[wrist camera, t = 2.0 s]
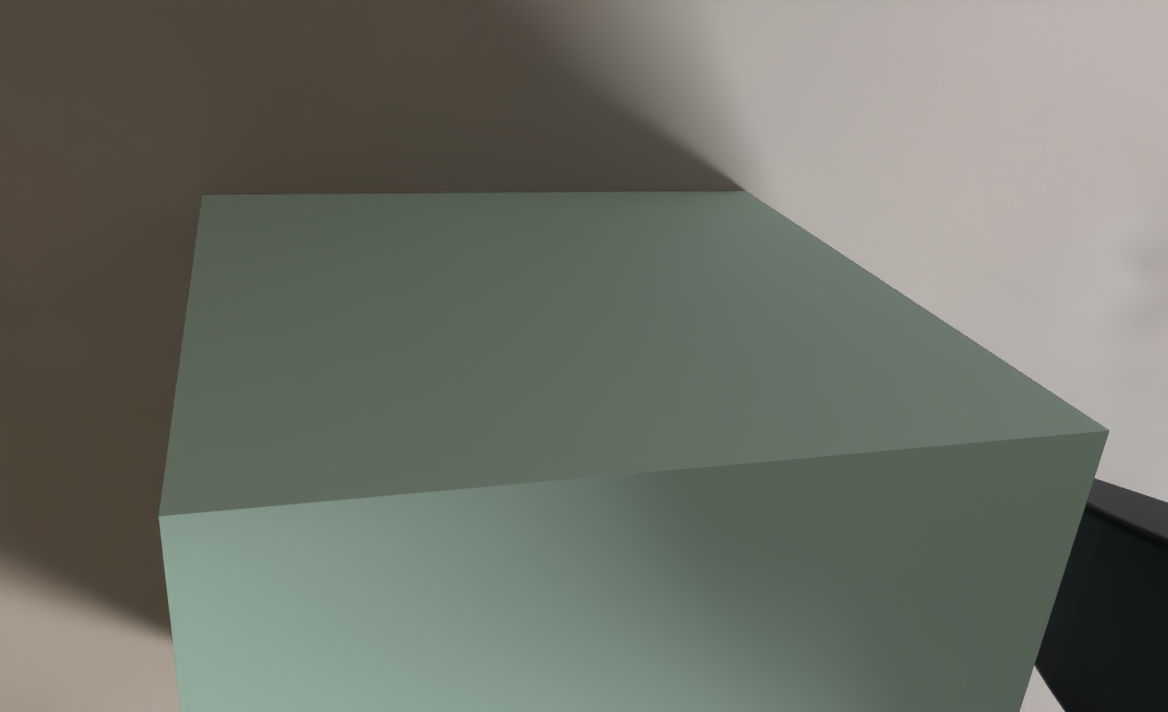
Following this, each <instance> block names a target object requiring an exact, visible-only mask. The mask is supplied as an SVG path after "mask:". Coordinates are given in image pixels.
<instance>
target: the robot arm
mask: <svg viewBox="0 0 1168 712" xmlns="http://www.w3.org/2000/svg"><path fill="white" fill-rule="evenodd" d="M1034 665H1035V667H1036V669H1037V670H1038V672H1039V673H1040V675H1041V677H1042V678H1043V680H1044V681H1045V683H1046V685H1047V686H1048V688H1049V689H1050V691H1051V692H1052V694H1053V695H1054V697H1055V698H1056V700H1057V701H1058V702H1059V704H1060V705H1061V707H1062V708H1063V710H1064V711H1065V712H1168V502H1165V501H1162V500H1158V499H1155V498H1152V497H1149V496H1146V495H1143V494H1140V493H1137V492H1134V491H1131V490H1128V489H1125V488H1122V487H1119V486H1116V485H1113V484H1110V483H1107V482H1104V481H1101V480H1098V479H1095V478H1094V480H1093V483H1092V486H1091V490H1090V493H1089V496H1088V499H1087V502H1086V505H1085V508H1084V511H1083V515H1082V518H1081V521H1080V524H1079V527H1078V530H1077V533H1076V536H1075V539H1074V543H1073V546H1072V549H1071V552H1070V555H1069V558H1068V561H1067V564H1066V568H1065V571H1064V574H1063V577H1062V580H1061V583H1060V586H1059V589H1058V592H1057V596H1056V599H1055V602H1054V605H1053V608H1052V611H1051V614H1050V617H1049V621H1048V624H1047V627H1046V630H1045V633H1044V636H1043V639H1042V642H1041V646H1040V649H1039V652H1038V655H1037V658H1036V661H1035V664H1034Z"/></svg>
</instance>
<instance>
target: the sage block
mask: <svg viewBox="0 0 1168 712" xmlns="http://www.w3.org/2000/svg"><path fill="white" fill-rule="evenodd" d="M1108 433H1109V430H1108V429H1106V428H1105V427H1103V426H1102V425H1100V424H1099V423H1097V422H1096V421H1094V420H1093V419H1091V418H1090V417H1088V416H1087V415H1085V414H1084V413H1082V412H1081V411H1079V410H1078V409H1076V408H1075V407H1073V406H1071V405H1070V404H1068V403H1067V402H1065V401H1064V400H1062V399H1061V398H1059V397H1058V396H1056V395H1055V394H1053V393H1052V392H1050V391H1049V390H1047V389H1046V388H1044V387H1043V386H1041V385H1040V384H1038V383H1037V382H1035V381H1034V380H1032V379H1031V378H1029V377H1027V376H1026V375H1024V374H1023V373H1021V372H1020V371H1018V370H1017V369H1015V368H1014V367H1012V366H1011V365H1009V364H1008V363H1006V362H1005V361H1003V360H1002V359H1000V358H999V357H997V356H996V355H994V354H993V353H991V352H990V351H988V350H987V349H985V348H983V347H982V346H980V345H979V344H977V343H976V342H974V341H973V340H971V339H970V338H968V337H967V336H965V335H964V334H962V333H961V332H959V331H958V330H956V329H955V328H953V327H952V326H950V325H949V324H947V323H946V322H944V321H943V320H941V319H939V318H938V317H936V316H935V315H933V314H932V313H930V312H929V311H927V310H926V309H924V308H923V307H921V306H920V305H918V304H917V303H915V302H914V301H912V300H911V299H909V298H908V297H906V296H905V295H903V294H902V293H900V292H899V291H897V290H895V289H894V288H892V287H891V286H889V285H888V284H886V283H885V282H883V281H882V280H880V279H879V278H877V277H876V276H874V275H873V274H871V273H870V272H868V271H867V270H865V269H864V268H862V267H861V266H859V265H858V264H856V263H855V262H853V261H851V260H850V259H848V258H847V257H845V256H844V255H842V254H841V253H839V252H838V251H836V250H835V249H833V248H832V247H830V246H829V245H827V244H826V243H824V242H823V241H821V240H820V239H818V238H817V237H815V236H814V235H812V234H811V233H809V232H807V231H806V230H804V229H803V228H801V227H800V226H798V225H797V224H795V223H794V222H792V221H791V220H789V219H788V218H786V217H785V216H783V215H782V214H780V213H779V212H777V211H776V210H774V209H773V208H771V207H770V206H768V205H767V204H765V203H763V202H762V201H760V200H759V199H757V198H756V197H754V196H753V195H751V194H750V193H748V192H747V191H667V192H525V193H382V194H240V195H202V199H201V207H200V214H199V221H198V229H197V236H196V243H195V251H194V258H193V266H192V273H191V280H190V288H189V295H188V302H187V310H186V317H185V325H184V332H183V339H182V347H181V354H180V362H179V369H178V376H177V384H176V391H175V398H174V406H173V413H172V421H171V428H170V435H169V443H168V450H167V458H166V465H165V472H164V480H163V487H162V494H161V502H160V509H159V525H160V534H161V543H162V551H163V560H164V569H165V578H166V587H167V596H168V604H169V613H170V622H171V631H172V640H173V648H174V657H175V666H176V675H177V684H178V692H179V701H180V710H181V712H1019V711H1020V708H1021V705H1022V702H1023V699H1024V695H1025V692H1026V689H1027V686H1028V683H1029V680H1030V677H1031V674H1032V670H1033V667H1034V664H1035V661H1036V658H1037V655H1038V652H1039V649H1040V646H1041V642H1042V639H1043V636H1044V633H1045V630H1046V627H1047V624H1048V621H1049V617H1050V614H1051V611H1052V608H1053V605H1054V602H1055V599H1056V596H1057V592H1058V589H1059V586H1060V583H1061V580H1062V577H1063V574H1064V571H1065V568H1066V564H1067V561H1068V558H1069V555H1070V552H1071V549H1072V546H1073V543H1074V539H1075V536H1076V533H1077V530H1078V527H1079V524H1080V521H1081V518H1082V515H1083V511H1084V508H1085V505H1086V502H1087V499H1088V496H1089V493H1090V490H1091V486H1092V483H1093V480H1094V477H1095V474H1096V471H1097V468H1098V465H1099V461H1100V458H1101V455H1102V452H1103V449H1104V446H1105V443H1106V440H1107V437H1108Z"/></svg>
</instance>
